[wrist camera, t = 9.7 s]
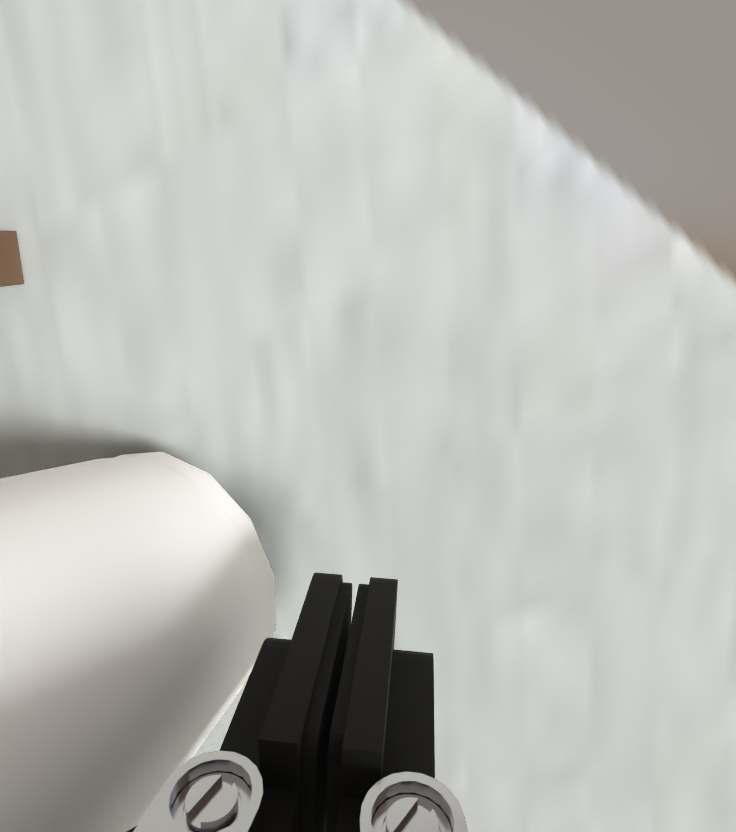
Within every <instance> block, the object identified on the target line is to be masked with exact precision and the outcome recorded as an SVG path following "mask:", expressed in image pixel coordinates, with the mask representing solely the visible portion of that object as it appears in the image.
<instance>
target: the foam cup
mask: <svg viewBox="0 0 736 832" xmlns="http://www.w3.org/2000/svg"><path fill="white" fill-rule="evenodd" d="M275 630H276V620H275V576H274V573H273V571H272V568H271V566H270V564H269V561H268V559H267V556H266V554H265V552H264V549H263V547H262V545H261V542H260V540H259V537H258V535H257V533H256V530H255V528H254V525H253V523H252V521H251V519H250V518H249V517H248V515H247V514H246V513H245V512H244V511H243V510H242V509H241V508H240V507H239V505H238V504H237V503H236V502H235V501H234V500H233V499H232V498H231V497H230V496H229V494H228V493H227V492H226V491H225V490H224V489H223V488H222V487H221V486H220V485H219V483H218V482H217V481H216V480H215V479H214V478H213V477H212V476H211V475H210V474H209V473H207V472H205V471H203V470H201V469H198V468H196V467H194V466H192V465H190V464H188V463H186V462H184V461H182V460H180V459H178V458H175V457H173V456H171V455H169V454H167V453H165V452H151V453H138V454H125V455H119V456H117V457H114V458H102V459H95V460H90V461H85V462H80V463H75V464H70V465H65V466H60V467H55V468H50V469H45V470H40V471H35V472H30V473H25V474H20V475H15V476H10V477H5V478H0V832H127V831H128V830H130V829H132V828H134V827H135V826H137V825H138V823H139V822H140V820H141V819H142V817H143V816H144V814H145V813H146V811H147V810H148V808H149V807H150V805H151V803H152V802H153V800H154V799H155V797H156V796H157V794H158V793H159V791H160V790H161V788H162V787H163V785H164V783H165V782H166V781H167V780H168V778H169V777H170V776H171V775H172V774H173V772H174V771H175V770H176V769H177V768H179V767H180V766H181V765H183V764H184V763H185V762H187V761H188V760H190V759H192V757H193V756H194V755H195V753H196V752H197V750H198V749H199V748H200V746H201V745H202V743H203V742H204V741H205V739H206V738H207V736H208V735H209V734H210V732H211V731H212V729H213V728H214V727H215V725H216V724H217V722H218V721H219V719H220V718H221V717H222V715H223V714H224V712H225V711H226V710H227V708H228V707H229V705H230V704H231V703H232V701H233V700H234V698H235V697H236V696H237V694H238V693H239V691H240V690H241V689H242V687H243V685H244V683H245V681H246V679H247V677H248V676H249V674H250V673H251V671H252V669H253V666H254V664H255V661H256V659H257V656H258V654H259V651H260V649H261V646H262V644H263V642H264V640H265V639H266V638H272V636H273V634H274V632H275Z"/></svg>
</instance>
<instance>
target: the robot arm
mask: <svg viewBox="0 0 736 832" xmlns="http://www.w3.org/2000/svg"><path fill="white" fill-rule="evenodd" d="M397 584H398V580H396V579H384V578H373V577H371V578H370V583H369V585H366V584H359V587H358V592H357V597H356V602H355V607H354V612H353V617H352V622H351V610H352V583H343V579H342V575H337V574H325V573H314V575H313V577H312V580H311V583H310V586H309V589H308V592H307V595H306V598H305V601H304V604H303V607H302V610H301V613H300V616H299V619H298V622H297V625H296V628H295V631H294V634H293V637H292V640H287V639H277V638H266V639H265V640H264V642H263V644H262V646H261V649H260V651H259V654H258V656H257V659H256V661H255V664H254V666H253V669H252V671H251V674H250V676H249V679H248V681H247V684H246V686H245V689H244V691H243V694H242V696H241V699H240V701H239V704H238V706H237V709H236V711H235V714H234V716H233V719H232V721H231V724H230V726H229V729H228V731H227V734H226V736H225V739H224V741H223V744H222V746H221V748H220V751H214V752H208V753H204V754H201V755H199V756H197V757H194V758H192V759H190V760H188V761H187V762H185V763H184V764H183V765H181V766H180V767H179V768H177V769H176V770H175V771H174V772H173V774H172V775H171V776H170V777H169V778H168V780H167V781H166V782H165V783H164V785H163V787H162V788H161V790H160V791H159V793H158V794H157V796H156V797H155V799H154V800H153V802H152V803H151V805H150V807H149V808H148V810H147V811H146V813H145V814H144V816H143V817H142V819H141V820H140V822H139V823H138V825H137V826H135V827H134V828H132V829H130V830H128V831H127V832H468V830H467V825H466V821H465V817H464V814H463V811H462V809H461V806H460V803H459V801H458V800H457V799H456V797H455V796H454V795H453V793H452V792H451V791H450V790H449V789H448V788H447V787H446V786H445V785H443V784H442V783H441V782H439V781H438V780H437V779H435V757H434V669H433V653H423V652H413V651H402V650H394V637H395V620H396V602H397Z"/></svg>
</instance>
